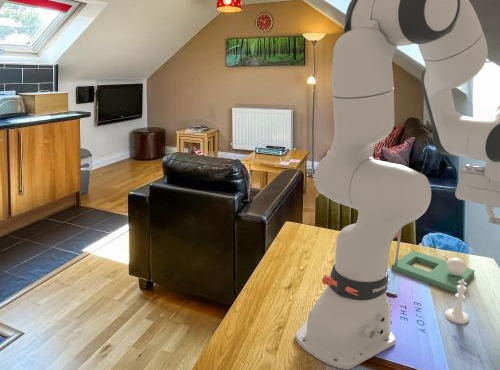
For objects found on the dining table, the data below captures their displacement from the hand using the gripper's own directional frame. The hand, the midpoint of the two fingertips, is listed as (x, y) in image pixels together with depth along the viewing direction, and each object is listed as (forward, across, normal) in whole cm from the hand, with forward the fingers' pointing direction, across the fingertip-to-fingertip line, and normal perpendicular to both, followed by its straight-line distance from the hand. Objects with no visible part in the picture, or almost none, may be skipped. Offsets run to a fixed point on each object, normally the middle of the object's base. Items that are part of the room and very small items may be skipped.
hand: (495, 223), depth 97 cm
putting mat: (+19, -13, -2) cm, 23 cm away
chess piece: (+19, 0, -18) cm, 26 cm away
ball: (+15, -8, 0) cm, 17 cm away
